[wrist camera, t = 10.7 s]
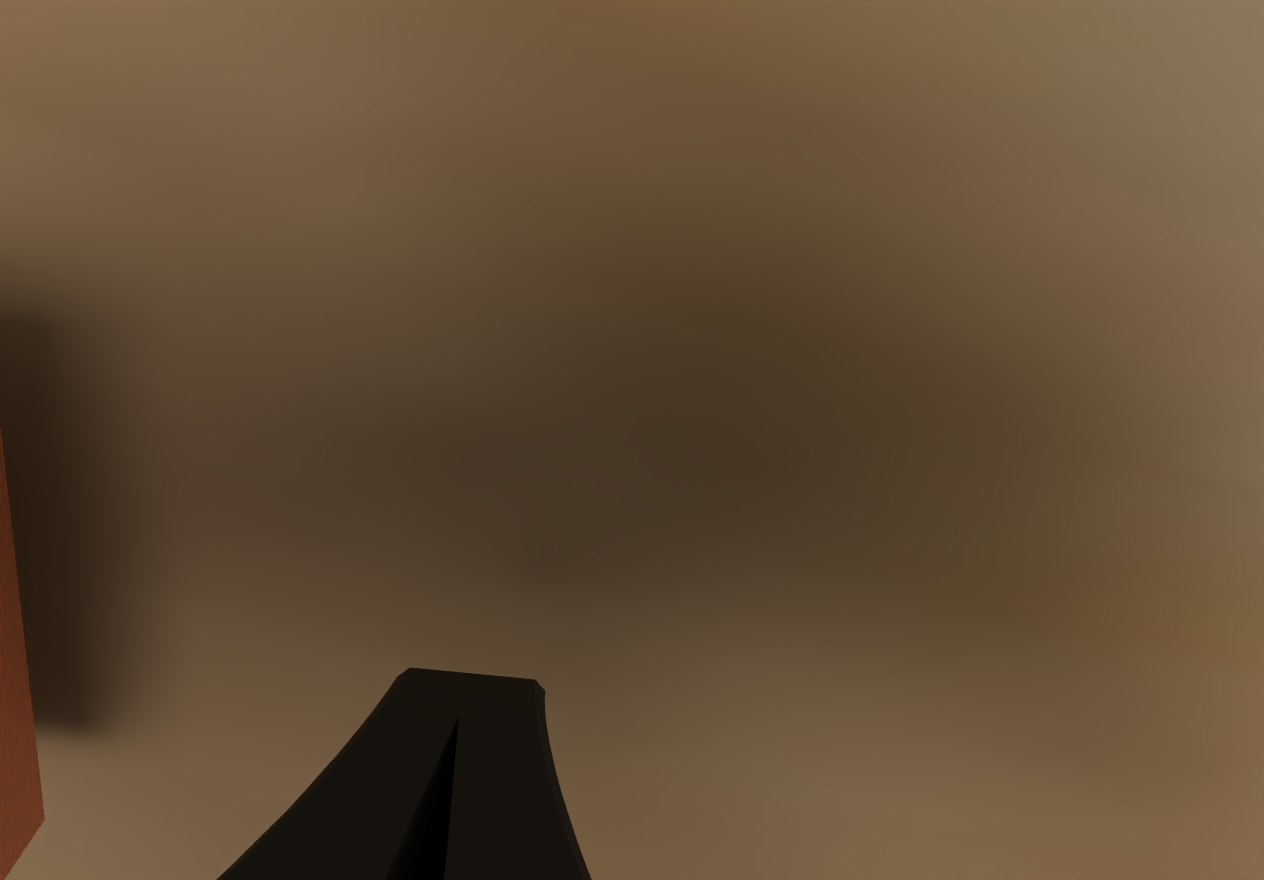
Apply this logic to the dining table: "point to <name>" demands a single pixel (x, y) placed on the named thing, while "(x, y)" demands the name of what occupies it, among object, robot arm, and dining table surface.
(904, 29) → the dining table surface
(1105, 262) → the dining table surface
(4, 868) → the ram
